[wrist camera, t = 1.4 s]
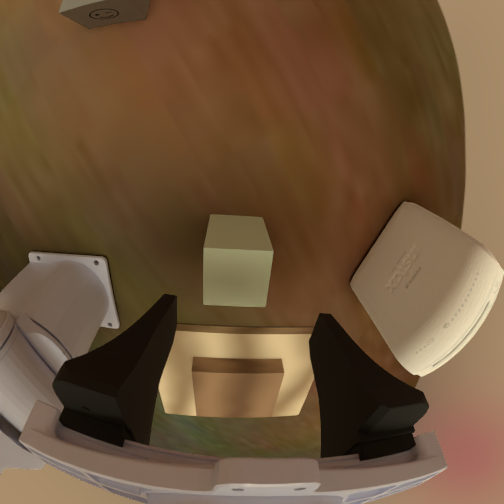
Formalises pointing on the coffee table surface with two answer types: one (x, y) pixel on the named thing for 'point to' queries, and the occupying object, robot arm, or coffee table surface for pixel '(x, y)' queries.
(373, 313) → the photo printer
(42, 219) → the coffee table surface
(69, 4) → the dice cube
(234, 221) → the sage block
